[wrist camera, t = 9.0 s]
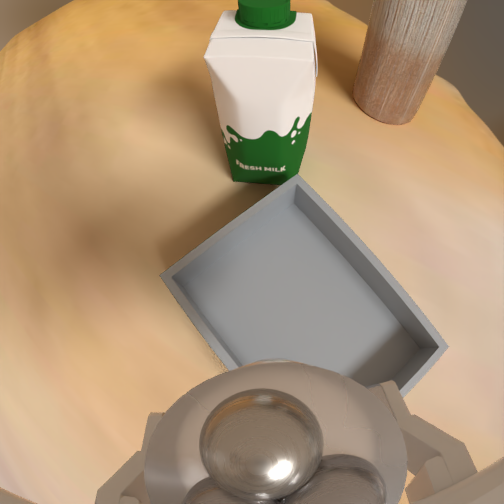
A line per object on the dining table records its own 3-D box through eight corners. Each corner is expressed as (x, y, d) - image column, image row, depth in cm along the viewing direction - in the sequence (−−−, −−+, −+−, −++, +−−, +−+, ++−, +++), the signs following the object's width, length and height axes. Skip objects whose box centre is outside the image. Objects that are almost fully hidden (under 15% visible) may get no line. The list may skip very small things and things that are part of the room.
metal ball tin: (205, 394, 15) (66, 460, 4) (283, 338, 16) (311, 291, 4) (264, 465, 14) (246, 628, 2) (342, 409, 14) (474, 497, 3)
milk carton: (304, 134, 37) (320, -8, 18) (301, 195, 34) (326, 43, 15) (235, 129, 38) (214, -11, 19) (223, 189, 35) (185, 39, 16)
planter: (420, 100, 39) (469, -15, 17) (406, 137, 36) (469, 1, 15) (364, 72, 41) (392, -49, 19) (342, 104, 38) (372, -41, 17)
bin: (175, 287, 31) (159, 275, 27) (293, 198, 34) (297, 173, 29) (309, 453, 25) (317, 471, 21) (424, 348, 28) (448, 346, 23)
